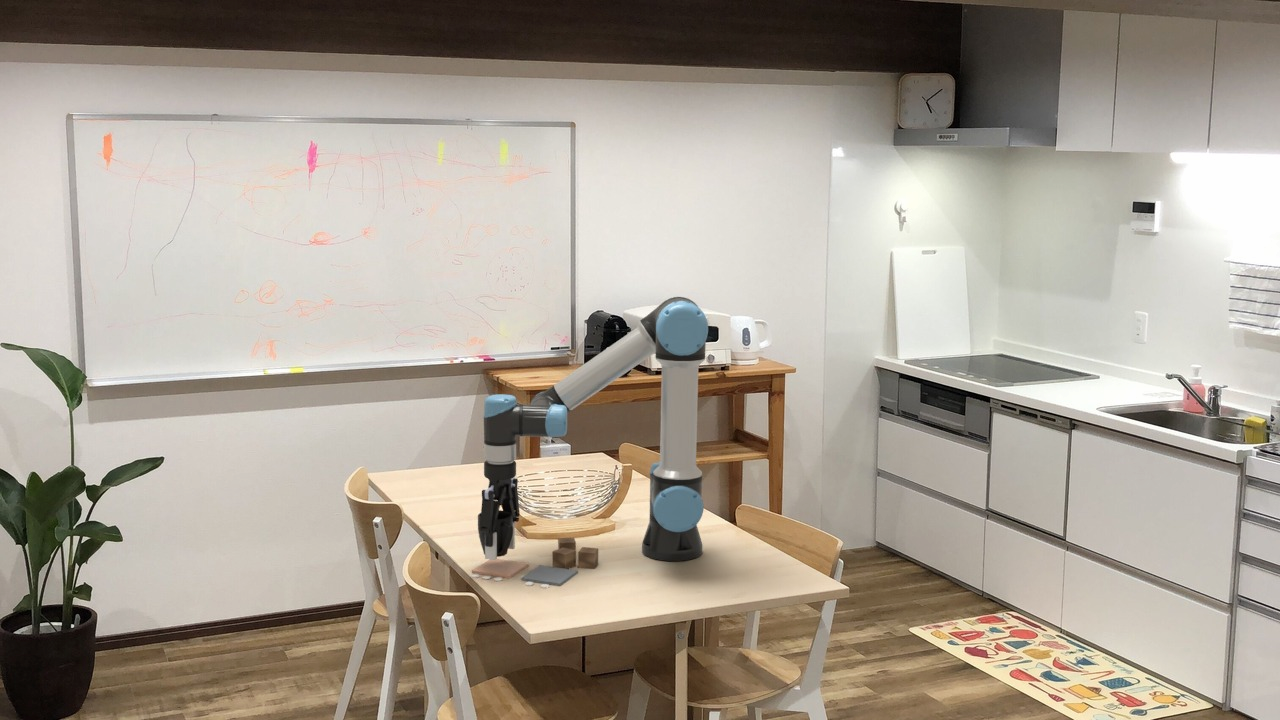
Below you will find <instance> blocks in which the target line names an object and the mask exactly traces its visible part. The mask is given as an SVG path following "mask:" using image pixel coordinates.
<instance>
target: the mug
mask: <svg viewBox="0 0 1280 720" xmlns="http://www.w3.org/2000/svg"><path fill="white" fill-rule="evenodd" d="M480 519H481V512H480V513H478V515H477V531H478V538H479V540H480V545H481V549H482V551H483V554H484V556H485V533H484V532H480ZM495 532H497V558H498V557H505V556H506V555H507V554H508V551H509V549H508V548H509V545H510V542H511V539H512V535H513V515H512V513H510V512H503V510H501V509H499V513H498V518H497V523H496V528H495Z"/></svg>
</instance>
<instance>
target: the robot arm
mask: <svg viewBox="0 0 1280 720" xmlns="http://www.w3.org/2000/svg"><path fill="white" fill-rule="evenodd" d="M708 334H709V323H708V319H707V317H706V315H705V313H704V312H703V310H702V309H701V308H700V307H699V306H698V304H697V303H696V302H694V301H693V300H691V299H690V298H688V297H684V296H673V297H670V298H668V299H665V300H664V301H663V302H662V303H661V304H659V305H658V306H657V307H656V308H654V309H653V310H652V311H651V312H649V314H647V315H646V316H644V317H643V318H642V319H640V320H639V321H638V325H637V327H635V329H633V330H632V331H630V332H628V333H627V334H626V335H624V336H623V337H621V338H620V339H619V340H617V341H616V342H614V343H612V344H611V345H609V346H608V347H607V348H605V349H603V351H601V352H599V353H598V354H597V355H595V356H594V357H592V358H591V359H590V360H588V361H587V362H585V363H583V365H581V366H580V367H578V368H576V369H575V370H573V371H572V372H571V373H570V374H568V375H567V376H565V377H564V378H562V379H560V380H558V382H556V383H555V384H553V385H552V386H551V387H549V388H548V389H546V390H544V391H541V392H539V393H537V394H536V395H535V396H534V397H532V400H531V401H530V403H529V404H520V403H518V402H517V398H516V396H514V395H512V394H501V393H500V394H491V395H488V396H487V397H485V400H484V406H483V444H484V445H483V446H482V447H483V451H484V452H483V454H484V455H483V457H484V458H483V459H484V460H485V461H484V463H483V476H484V477H485V479H488V486H487V487H488V488H487V489H482V490H481V498H482V499H481V500H482V501H481V510H480V513H481V519H480V532H484V533H485V555H484V559H485V560H496V559H498V557H497V532H495V528H496V523H497V518H498V513H499V510H500V507H501V508H502V511H503V512H510V513H512V515H513V535H512V539H511V542H510V545H509V548H508V550H515V546H516V545H515V544H516V541H515V540H516V539H515V538H516V537H515V533H516V532H515V531H516V530H515V526H516V525H515V523H516V522H517V523H518V522H519V521H520V515H521V512H520V504H519V503H520V502H519V491H518V483H519V481H518V478H517V477H516V476H517V462H516V459H517V437H535V438H537V437H539V438H541V437H544V438H550V439H551V438H559V437H565V436H566V435H567V433H568V413H570V412H572V410H574V409H576V408H577V407H578V406H579V405H581V404H583V403H584V402H586V401H587V400H588V399H590V398H591V397H593V396H594V395H597V393H598V392H600V391H601V390H603V389H605V388H606V387H607V386H609V385H611V383H613V382H615V381H617V379H620V378H621V377H622V376H624V375H625V374H627V373H628V372H629V371H631V370H632V369H634V368H635V367H636V366H638V365H640V364H641V363H643V362H644V361H645V360H647V359H648V358H650V357H651V356H653V355H654V354H655V356H654V357H655V360H656V361H657V362H658V363H659V364H660V365H661V387H660V388H661V389H660V390H661V391H660V435H659V437H660V440H659V441H660V443H659V444H660V445H659V450H660V451H659V461H658V462H653V463H652V464H651V465H650V470H649V471H650V472H649V474H648V475H649V477H650V478H649V520H648V521H649V523H648V525H647V528H646V530H645V534H644V537H643V540H642V542H641V553H642V554H643V555H644V556H646V557H647V558H650V559H654V560H657V561H667V562H668V561H669V562H681V561H684V562H685V561H689V560H694V559H697V558H700V556H702V555H703V541H702V538H701V535H700V532H699V528H698V524H699V522H700V521H701V519H702V517H703V513H704V507H705V504H704V500H703V495H702V494H703V471H702V470H700V468H699V467H698V466H697V441H698V439H697V438H698V437H697V436H698V435H697V434H698V401H699V400H698V397H699V395H698V394H699V367H700V365H701V364H702V363H703V362H704V361H705V360H706V345H707V344H706V342H707V341H706V340H707V339H708Z"/></svg>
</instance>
